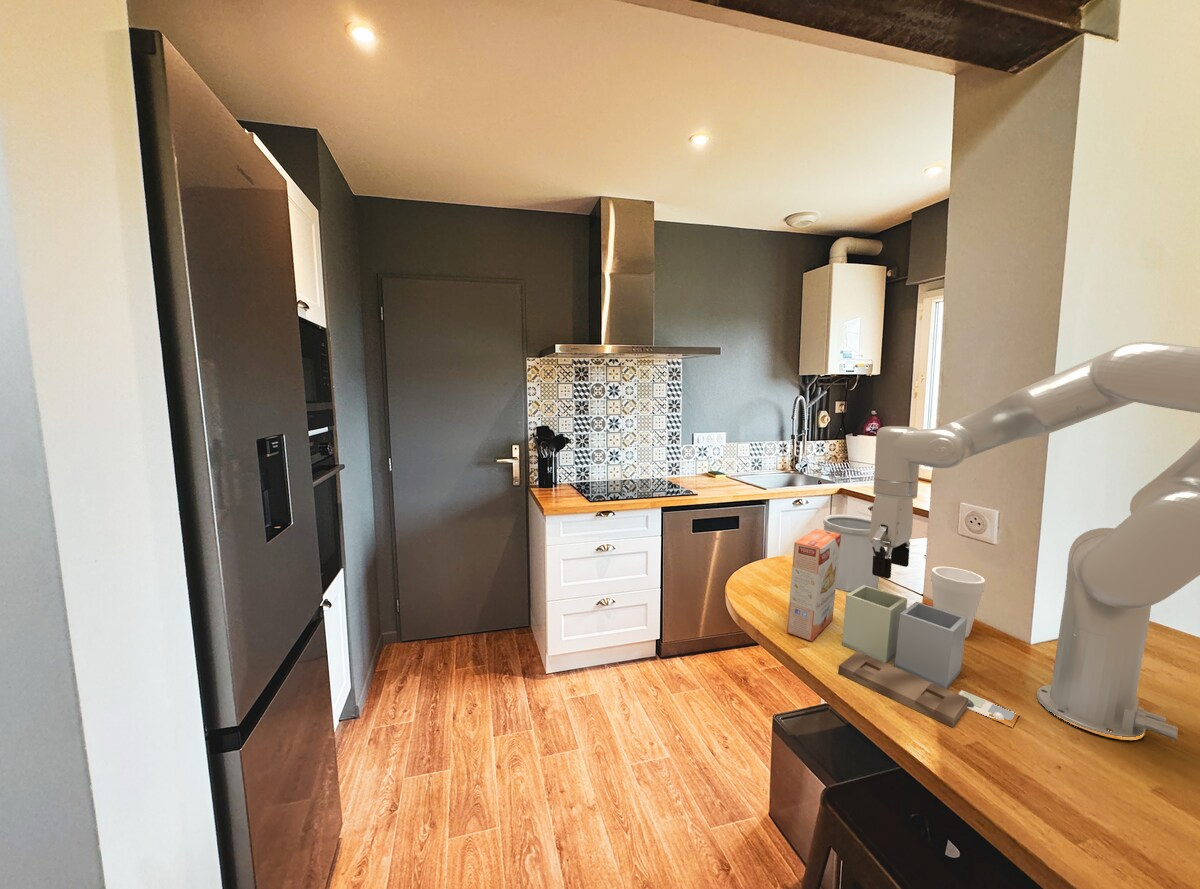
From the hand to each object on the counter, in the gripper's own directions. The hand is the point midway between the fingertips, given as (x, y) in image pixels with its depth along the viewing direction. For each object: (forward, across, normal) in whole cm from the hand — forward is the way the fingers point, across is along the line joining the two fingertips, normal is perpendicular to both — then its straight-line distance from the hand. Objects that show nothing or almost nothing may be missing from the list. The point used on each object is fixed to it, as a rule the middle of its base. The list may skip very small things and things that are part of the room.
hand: (890, 570), depth 97 cm
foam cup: (+17, -20, +6) cm, 27 cm away
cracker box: (+16, +4, -14) cm, 22 cm away
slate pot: (+17, +2, +8) cm, 19 cm away
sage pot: (+16, +2, -2) cm, 17 cm away
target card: (+17, +8, +18) cm, 26 cm away
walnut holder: (+17, +13, +7) cm, 22 cm away
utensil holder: (+16, -28, -19) cm, 38 cm away
